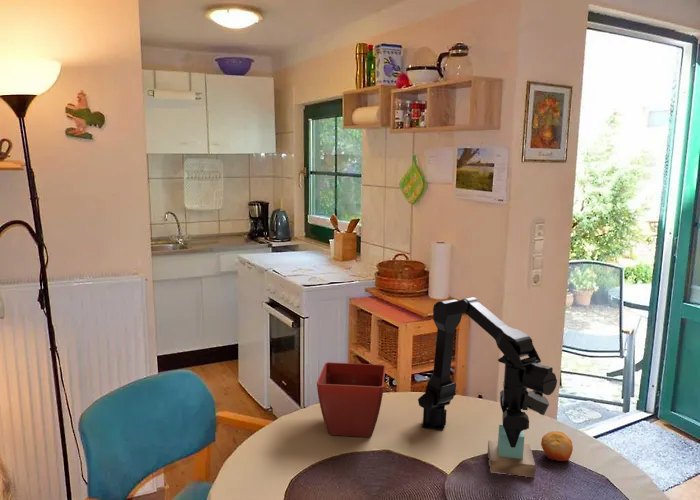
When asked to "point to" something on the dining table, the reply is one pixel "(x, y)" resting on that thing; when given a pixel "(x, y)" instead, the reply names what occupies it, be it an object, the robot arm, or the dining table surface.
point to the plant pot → (351, 397)
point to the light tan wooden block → (511, 461)
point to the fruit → (557, 446)
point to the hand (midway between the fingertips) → (511, 438)
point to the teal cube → (505, 447)
